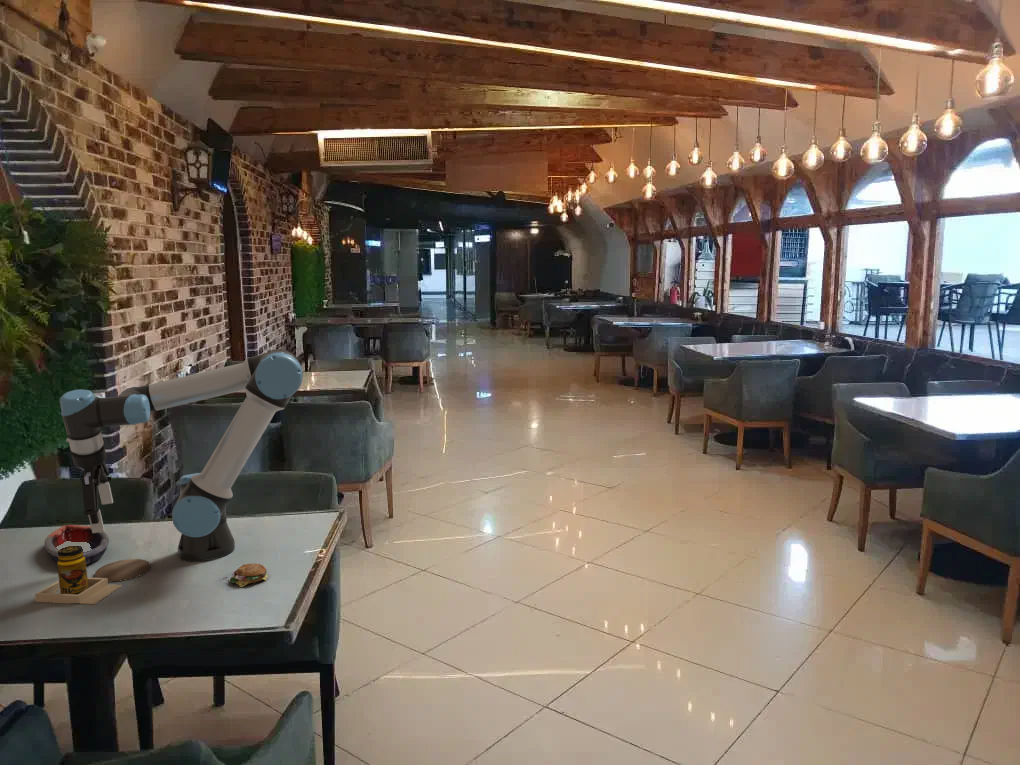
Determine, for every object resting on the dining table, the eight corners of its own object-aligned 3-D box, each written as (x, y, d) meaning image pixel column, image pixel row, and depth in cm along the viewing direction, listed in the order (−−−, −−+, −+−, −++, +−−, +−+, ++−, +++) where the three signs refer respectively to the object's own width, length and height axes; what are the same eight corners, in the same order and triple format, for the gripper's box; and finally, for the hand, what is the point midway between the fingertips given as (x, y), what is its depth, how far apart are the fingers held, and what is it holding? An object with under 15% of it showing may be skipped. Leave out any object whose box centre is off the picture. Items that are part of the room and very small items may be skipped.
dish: (52, 576, 195) (50, 558, 194) (41, 543, 219) (39, 527, 218) (117, 562, 204) (115, 545, 203) (99, 532, 228) (98, 517, 228)
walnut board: (160, 563, 202) (159, 559, 202) (130, 582, 190) (130, 579, 189) (116, 561, 204) (116, 558, 204) (84, 580, 191) (83, 577, 191)
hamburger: (256, 567, 201) (255, 546, 200) (280, 582, 191) (278, 560, 190) (205, 581, 191) (203, 559, 190) (226, 597, 181) (225, 574, 180)
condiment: (72, 602, 179) (67, 555, 177) (47, 597, 182) (42, 551, 180) (98, 590, 185) (93, 545, 184) (74, 585, 188) (69, 541, 187)
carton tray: (122, 586, 188) (121, 578, 187) (94, 604, 177) (94, 596, 177) (66, 583, 189) (65, 576, 189) (35, 601, 179) (34, 594, 179)
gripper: (81, 427, 198) (96, 494, 206) (59, 474, 176) (77, 546, 185) (111, 424, 200) (125, 490, 209) (94, 470, 178) (110, 542, 187)
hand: (103, 517), depth 197 cm, fingers open, 13 cm apart
